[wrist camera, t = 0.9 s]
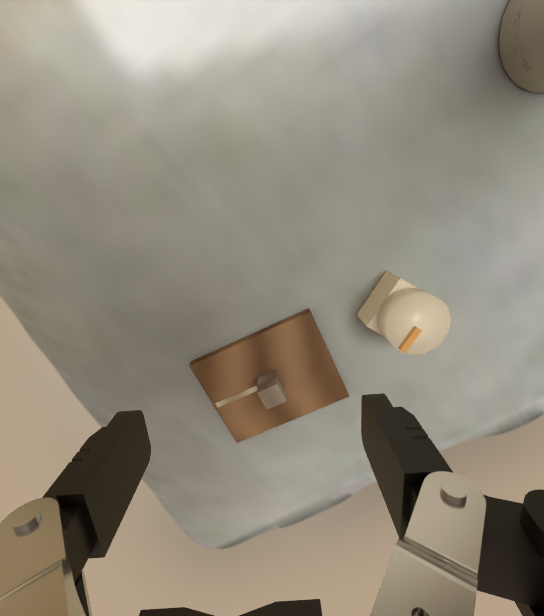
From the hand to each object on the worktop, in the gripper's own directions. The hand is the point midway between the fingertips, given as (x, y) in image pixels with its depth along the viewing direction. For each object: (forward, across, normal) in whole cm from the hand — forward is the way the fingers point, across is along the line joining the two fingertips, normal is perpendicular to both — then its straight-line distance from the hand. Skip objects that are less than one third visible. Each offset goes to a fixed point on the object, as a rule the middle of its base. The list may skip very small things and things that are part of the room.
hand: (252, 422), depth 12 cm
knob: (+22, -13, +4) cm, 26 cm away
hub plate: (+22, 0, +11) cm, 24 cm away
